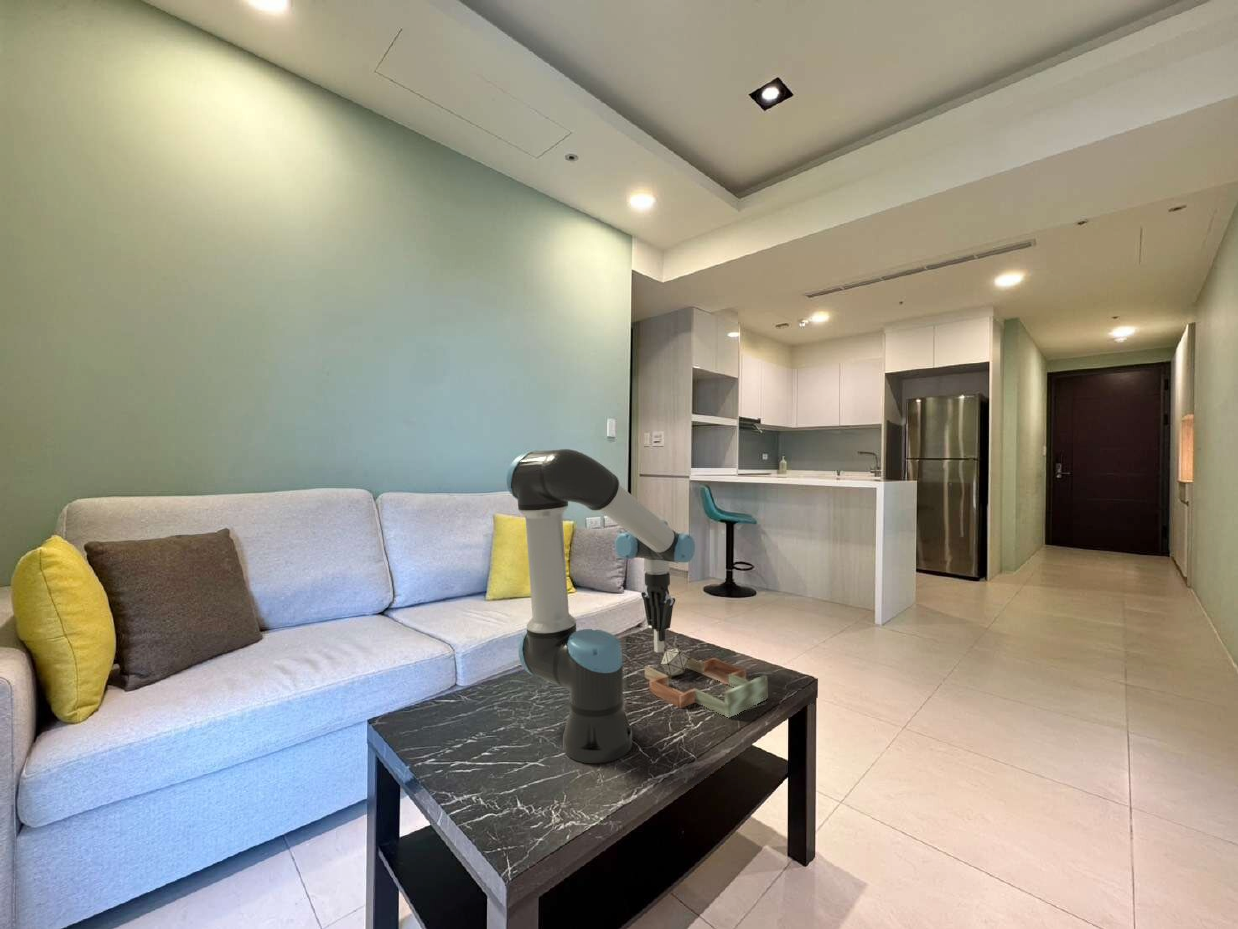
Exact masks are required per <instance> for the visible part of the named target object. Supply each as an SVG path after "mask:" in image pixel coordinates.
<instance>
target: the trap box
mask: <svg viewBox="0 0 1238 929" xmlns="http://www.w3.org/2000/svg"><path fill="white" fill-rule="evenodd" d="M686 656H687V657H688V658H691V659H690V660H689V659H688V662H687V665H686V668H685V669H689V670H692V671H693V672H696V673H699V674H701V675H703V676H706V677H708V678H710V679H712V680H715V681H717V680H718V681H717V682H719V681H720V683H722V684H725V685H726V684H728V685H727V686H729V685H730V686H729V687H731V686H732V687H731V689H729V690H726V691H724V701H723V700H721V699H719V698H718V697H715V696H713V695H711V694H709V693H706V692H704V691H702V690H700V689H698V688H695V687H694V688H692V689H691V688H690V689H689V690H687V691H684V692H682V691H680V690H678V689H676V688H674V687H671V686H670V684H669V681H670V680H669V679H670V676H669V674H665V673H663V672H661V671H658V669H654V668H652V667H650V666H644V678H645V679H647V680H649V681H648V684H649V692H650V693H651V694H653V695H655V696H656V697H658V698H660V699H662V700H663V701H666V702H667V703H670V704H671V705H673V706H675V707H677V708H679V709H683V708H685V707H688V706H690V705H693V704H695V703H696V704H698V705H700V706H702V705H703V706H702V707H704V706H705V707H704V708H706V707H707V708H706V709H708V708H709V709H708V710H710V711H712V710H714V711H715V712H714V711H713V712H714V713H716V712H717V713H716V714H718V713H719V714H718V715H720V714H721V715H720V716H722V715H725V716H726V717H728V718H729V717H731V716H734V715H736V716H738V715H739V713H740V712H742V711H744V710H746V711H748V710H750V709H751V708H750V707H752V706H753V705H756V706H758V705H757V704H758V703H760V702H761V701H763V700H766V699H767V698H768V699H769V693H768V692H769V690H768V688H769V686H768V685H769V684H768V676H767V675H765V674H762V675H761V676H758V677H755V678H754V679H751V680H748V679H747V670H746V668H745V669H744V668H743V667H739V666H737V665H734V664H732V663H730V662H729V663H728V662H727V661H726V662H725V661H723V660H721V659H719V658H716V657H712V658H709V659H706V660H702V661H701V660H698V659H696V658H693V657H690V656H688V655H686ZM733 687H734V688H733ZM749 708H750V709H749ZM752 708H753V707H752ZM747 709H748V710H747ZM744 712H745V711H744ZM742 713H743V712H742ZM737 714H738V715H737ZM740 714H741V713H740ZM726 717H725V718H726ZM734 717H735V716H734ZM728 718H727V719H728Z"/></svg>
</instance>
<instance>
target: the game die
mask: <svg viewBox="0 0 1238 929" xmlns="http://www.w3.org/2000/svg"><path fill="white" fill-rule="evenodd" d="M679 647H680V645H679V644H677V646H676V647H674V648H670V649H666V648H665V647H664V651H663V652H664V653H663V656H662V659H661V662H660V663H659V664H657V666H658V667H662V668H663V669H664V671H665V672H667V675H668V676H669V679H670V680H671V679H673V678H672V677H674V676H679V675H681V674H682V675H683V676H686V672H685V670H686V669H687V668H686V665H687V662H688V659H689V660H690V659H691V658H692V657H691V658H688V657H689V656H688V655H686V654H685V653H684V652H683V651H682V650H681V648H679ZM687 656H688V657H687Z"/></svg>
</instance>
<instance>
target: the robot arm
mask: <svg viewBox="0 0 1238 929" xmlns="http://www.w3.org/2000/svg"><path fill="white" fill-rule="evenodd" d="M506 487H507V490H508V491H509V494H511V495H512V497H513V498H514V499H516V500H517V506H518V508H517V509H518V512H519V513H521V514H522V515H523V516H524V518H525V527H526V541H527V542H526V543H527V555H528V556H527V558H528V571H529V572H528V573H529V583H530V584H529V585H530V587H529V588H530V600H531V603H530V604H531V612H532V613H531V615H532V617H531V619H530V620H529V621H528V622H527V624H526V630H525V631H524V632H523V634H522V639H521V640H519V643H518V658H519V661H520V664H521V667H522V668H523V669H524V671H525V672H527V673H528V674H530V675H532V676H533V677H534V678H537V679H538V680H540V681H545V682H549V683H551V684H553V685H556V686H559V687H562V688H565V689H567V690H568V691H569V712H568V716H567V720H566V723H565V728H564V731H563V734H562V748H563V752H564V753H565V755H566V756H567V757H568V758H570V759H572V760H574V761H576V762H577V761H578V762H581V763H585V764H605V763H610V762H612V761H615V760H618V759H620V758H622V757H624V756H625V755H626V754H627V753H629V752H630V750H631V749H632V746H633V731H632V728H631V725H630V721H629V719H628V717H627V714H626V711H625V708H624V675H623V674H624V673H623V672H624V671H623V669H624V668H623V662H624V661H623V660H624V659H623V657H624V656H623V654H622V645H621V642H620V640H619V639H618V638H617V637H616V636H615V635H614V634H612V633H611V632H608V631H605V630H602V629H592V628H585V629H579V630H577V620H576V618H575V617H574V616H573V615H572V614H570V611H569V608H570V607H569V598H568V597H569V596H568V595H569V593H568V581H567V580H568V579H567V566H566V565H567V564H566V563H567V562H566V553H565V552H566V550H565V537H564V535H565V534H564V523H563V521H564V520H563V518H564V517H563V514H564V513H565V511H566V510H567V509H568V508H569V502H571V503H576V504H580V505H583V506H585V507H586V508H588V510H591V511H593V512H601V513H602V514H603V515H605V516H606V517H607V518H609V519H610V520H611V521H613V522H615V523H616V524H617V525H619V526H620V527H621V528H622V529H624V530H625V531H624V532H622V533H619V534H618V535H617V537H615V538H616V539H615V541H614V548H615V552H616V553H617V555H618V557H619V558H621V559H623V560H633V559H635V558H636V559H638V558H639V559H643V561H644V562H643V565H644V571H645V573H644V585H645V586H646V590H645V591H642V592H641V595H640V596H641V598H642V600H643V605H644V606H643V607H644V611H645V616H646V622H647V625H648V626H651V630H652V639H653V649H654V650H653V651H654V653H661V652H665V651H664V648H665V641H666V630H669V629H671V622H672V617H673V616H672V615H673V611H674V604H675V603H676V598H675V597H671V595H670V591H669V586H670V585H671V577H670V576H671V575H670V562H672V563H676V564H678V563H681V564H682V563H683V564H685V563H688V562H690V561H692V560H693V558H694V554H695V551H696V542H695V540H694V538H693V537H692V536H691V535H690V534H685V533H682V532H681V533H678V532H676V531H675V530H674V529H673V528H671V527H670V526H669V524H668V522H667V521H666V520H664V519H661V518H660V517H658V516H657V515H656V514H655V513H653V511H651V510H650V509H649V508H647V507H646V506H645V505H644V504H642V502H640V501H639V500H638V499H637V498H635V497H634V495H632V494H631V493H630V492H629V491H627V490H626V489H625V488H624V487H623V486H622V485H621V484H620V480H619V478H618V476H616V474H614V473H613V472H612V471H611V470H610V469H609V468H607V467H606V466H604V465H603V464H602V463H601V462H598V460H595V459H594V458H592V457H590V455H589V456H588V455H587V454H585V453H583V452H580V451H578V450H573V449H570V448H566V449H565V448H564V449H561V448H560V449H554V450H533V451H528V452H525V453H521V454H520V455H518V456H516V458H515V459H514V460H513V461H512V462H511V463H510V465H509V467H508V469H507V472H506Z"/></svg>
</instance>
